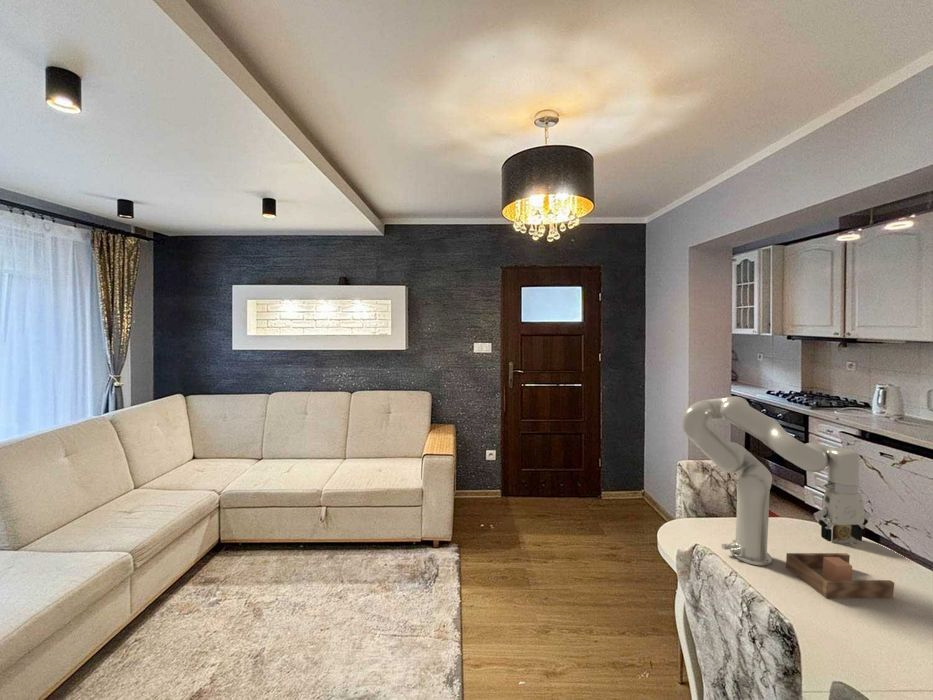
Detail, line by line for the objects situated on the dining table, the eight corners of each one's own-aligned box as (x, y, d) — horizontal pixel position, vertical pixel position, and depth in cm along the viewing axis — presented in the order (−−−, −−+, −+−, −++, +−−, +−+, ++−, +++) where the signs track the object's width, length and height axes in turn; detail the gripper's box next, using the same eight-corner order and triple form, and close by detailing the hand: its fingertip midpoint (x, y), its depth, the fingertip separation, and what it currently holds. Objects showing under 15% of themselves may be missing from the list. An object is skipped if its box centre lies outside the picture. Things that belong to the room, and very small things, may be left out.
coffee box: (844, 535, 168) (846, 496, 166) (857, 544, 161) (860, 503, 160) (819, 534, 168) (821, 495, 167) (831, 543, 162) (834, 502, 161)
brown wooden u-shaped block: (825, 598, 130) (826, 582, 130) (785, 567, 146) (786, 553, 146) (893, 598, 130) (894, 582, 129) (845, 567, 146) (846, 553, 146)
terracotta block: (835, 586, 136) (836, 565, 135) (822, 577, 141) (823, 557, 140) (850, 586, 136) (852, 565, 135) (837, 577, 141) (838, 557, 140)
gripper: (825, 492, 132) (824, 545, 133) (881, 491, 132) (879, 544, 133) (806, 483, 140) (805, 534, 140) (859, 482, 139) (857, 533, 140)
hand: (841, 539), depth 137 cm, fingers open, 9 cm apart
